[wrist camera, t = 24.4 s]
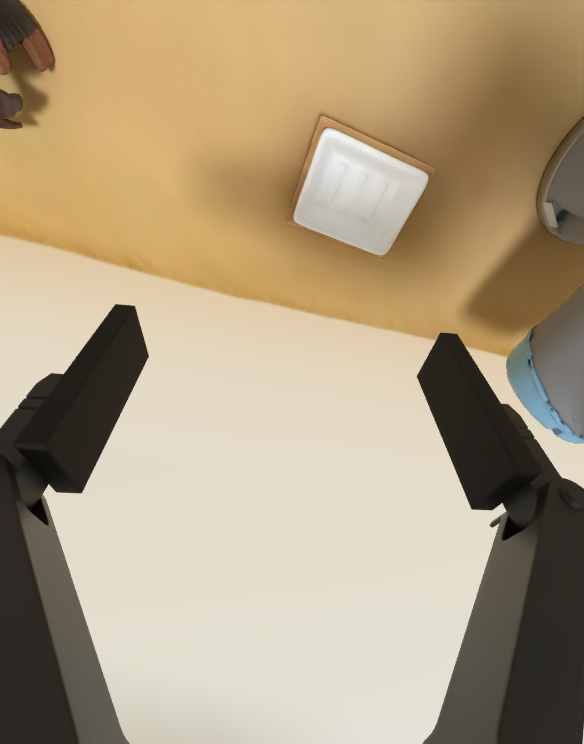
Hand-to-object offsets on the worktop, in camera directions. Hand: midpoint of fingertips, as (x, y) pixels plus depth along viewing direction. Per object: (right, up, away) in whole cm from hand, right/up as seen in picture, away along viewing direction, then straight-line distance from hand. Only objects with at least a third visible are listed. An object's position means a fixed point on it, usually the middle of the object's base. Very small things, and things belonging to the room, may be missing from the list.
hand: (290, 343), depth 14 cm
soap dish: (+7, +20, +21) cm, 30 cm away
